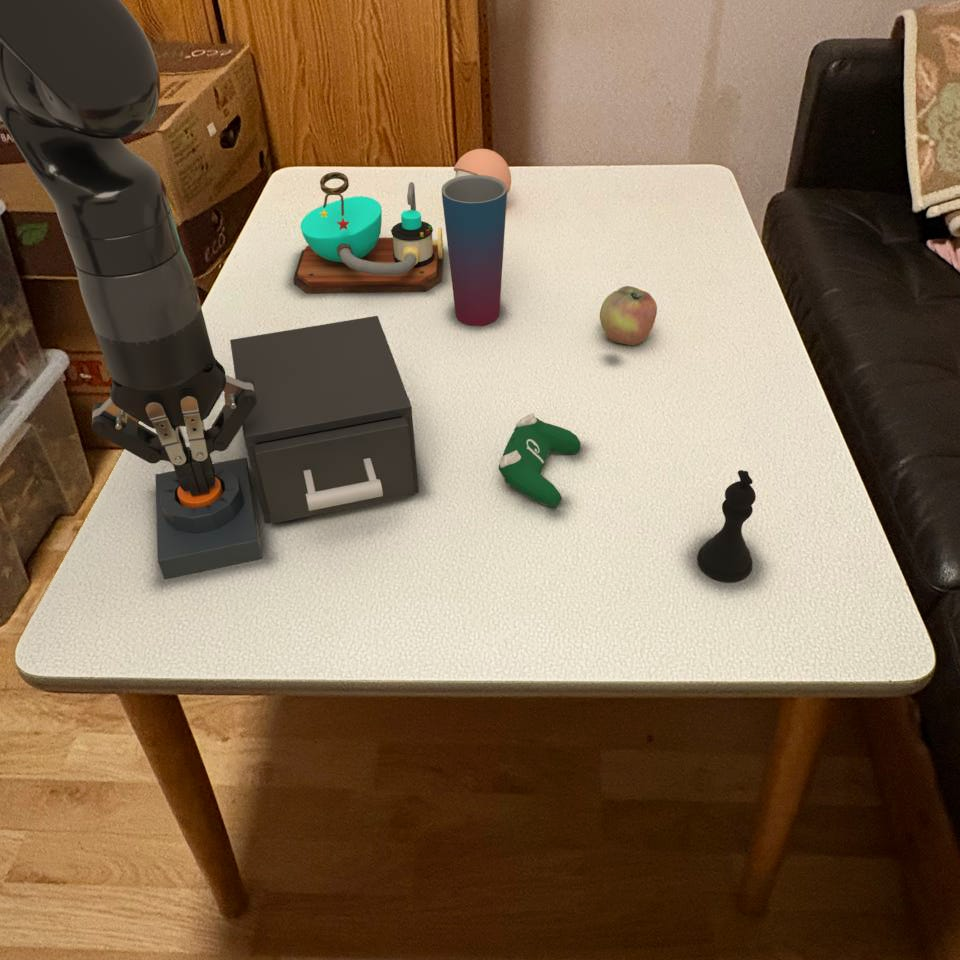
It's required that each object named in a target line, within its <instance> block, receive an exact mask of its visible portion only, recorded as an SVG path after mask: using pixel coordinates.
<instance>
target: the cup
mask: <svg viewBox="0 0 960 960" xmlns="http://www.w3.org/2000/svg"><path fill="white" fill-rule="evenodd" d="M507 198H508V194H507V186H506V184H505V183H504V182H503V181H501V180H500V179H497V178H495V177H491V176H486V175H466V176H460V177H457V178H455V177H454V178H452V179H449V180H447V181H446V182H444V184H442V186H441V199H442V207H443V216H444V227H445V235H446V243H447V251H448V260H449V269H450V278H451V287H452V295H453V305H454V313H455V318H456V319H457V321H459V322H460V323H462V324H463V325H466V326H467V325H468V326H471V327H472V326H474V327H478V326H479V327H480V326H486V325H490V324H492V323H494V322H496V321H497V320H498V318H499V317H500V313H501V312H500V311H501V294H502V279H503V278H502V276H503V263H504V249H505V248H504V247H505V234H506V233H505V231H506V230H505V229H506V216H507V215H506V213H507Z"/></svg>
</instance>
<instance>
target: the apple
mask: <svg viewBox="0 0 960 960" xmlns="http://www.w3.org/2000/svg"><path fill="white" fill-rule="evenodd" d="M599 310H600V311H599V322H600V324H601V327H602V330H603V332H604V334H605V336H606V337H607V338H608V339H609V340H610V341H611V342H614V343H617V344H623V345H629V346H635V345H637V344H639V343H641V342H644V341H645V340H647V338H648V337H649V335H650V333H651V331H652V329H653V327H654V324H655V321H656V318H657V314H658V305H657V302H656V300H655V299H654V297H653V296H652V295H651V294H650V292H647V291H646V290H645V291H644V290H642V289H639V288H637V287H635V286H631V285H625V286H621V287H620V288H618V289H617V290H613V292H611V293H609V294H608V296H606V297H605V299H604V301H602V304H601V307H600V309H599Z"/></svg>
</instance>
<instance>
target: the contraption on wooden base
mask: <svg viewBox="0 0 960 960" xmlns="http://www.w3.org/2000/svg"><path fill="white" fill-rule="evenodd" d="M335 179H336V180H341V181H342V182H343V184H342V185H340V186H338V187H328V186H327V185H326V183H327V182H329V181H330V180H335ZM319 185H320V189H321V191H322V192H323V193H324V194H325V195H324V201H323V205H321V206H319V207H316V208H313V209H312V210H311V211H310V212H308V213H307V214H306V215H305V216H304V217H303V218H302V219H301V221H300V226H299V227H300V231H301V234H302V236H303V238H304V240H305V242H306V243H307V245H306V246H305V248H304V249H302V250H301V253H300V256H299V259H298V262H297V266H296V269H295V272H294V275H293V285H295V286H296V287H297V288H298V289H300V290H301V291H302V292H304V293H305V294H348V293H350V294H352V293H353V294H355V293H357V294H359V293H362V294H363V293H417V292H418V293H427V292H428V291H430V290H431V289H433V288H434V287H435V286H437V285H439V284H440V283H442V281H443V269H444V254H445V252H444V251H445V250H444V248H443V246H444V240H443V228H442V227H437V240H433V232H434V228H433V226H432V225H431V224H430V223H428V222H426V221H423V220H422V214H421V211H418V210H417V204H416V190H415V183H414V182H413V181H410V182H409V183H408V188H407V194H406V198H407V199H406V201H407V206H410V209H407V210H403V211H402V212H401V213H400V219H401V222H398V223H396V224H394V225H393V226H392V228H391V229H390V232H391V235H392V237H380V236H381V231H382V221H383V220H382V219H383V217H382V216H383V214H382V212H383V211H382V210H383V209H382V206H381V203H380V202H379V201H377V200H376V199H375V198H372V197H369V196H363V195H358V196H351V197H345V198H344V196H343V193H344V192H347V190H348V189H349V186H350V182H349V177H348V176H347V175H346V174H345V173H342V172H340V171H339V172H338V171H335V172H333V171H332V172H329V173H326V174H324V175H323V176H322V177H321V178H320V180H319ZM329 196H339V197H340V199H338V200H335V201H332V202H329V203H328V197H329Z"/></svg>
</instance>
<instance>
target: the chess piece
mask: <svg viewBox="0 0 960 960" xmlns="http://www.w3.org/2000/svg"><path fill="white" fill-rule="evenodd" d="M737 475H738V477H739V480H738V481H734V482H733V483H731V484H730V485H728V486H727V487H726V488H725V491H724V498H725V499H724V501H723V502H722V504H721V510H722V514H723V516H724V524H723V526H722V528H721V529H720V530H719V531H718V532H717V533H716V534H715V535H713V536H712V537H711V538H710V539H708V540H707V541H706V542H705V543H704V544H703V545H702V546H701V547H700V548H699V550H698V552H697V555H696V556H697V558H696V560H697V564H698V566H699V568H700V570H701V572H703V573H704V574H705V575H707V576H708V577H709V578H711V579H712V580H716V581H719V582H724V583H735V582H739V581H742V580H744V579H746V578H747V577H748V576H749V575H750V574H751V572H752V570H753V564H754V563H753V558H752V555H751V552H750V549H749V547H748V546H747V545H746V541H745V539H744V536H743V531H742V529H743V525H744V523H745V522H746V521H747V520H748V519H749V518H750V517H751V516H752V514H753V509H754V508H753V504H754V503H755V502H756V497H757V495H756V492H755V488H753V486H752V485H753V482H754V481H753V479H752V478H751V476H750V475H749V471H748V470H743V469H740V470H738V471H737Z"/></svg>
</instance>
